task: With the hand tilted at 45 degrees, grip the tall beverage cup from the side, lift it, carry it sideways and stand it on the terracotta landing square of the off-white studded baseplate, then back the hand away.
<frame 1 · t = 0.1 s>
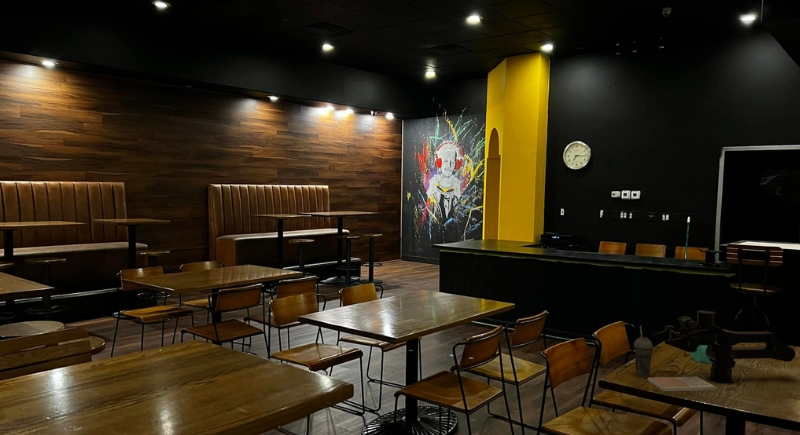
hand: (658, 338, 224), 17 cm above the table, tool horizontal, fingers open, 9 cm apart
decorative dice: (703, 360, 253), on the table
beverage cup: (642, 376, 231), on the table
baseplate: (681, 385, 220), on the table
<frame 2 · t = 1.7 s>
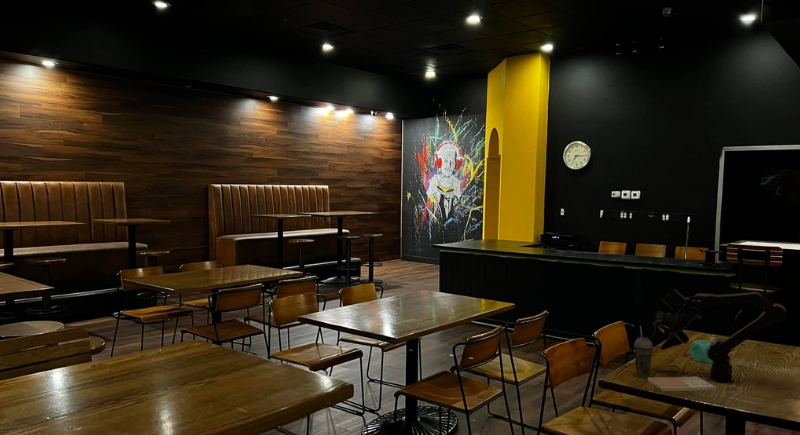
hand: (655, 346, 231), 12 cm above the table, tool tilted 45°, fingers open, 9 cm apart
nothing on the table moved.
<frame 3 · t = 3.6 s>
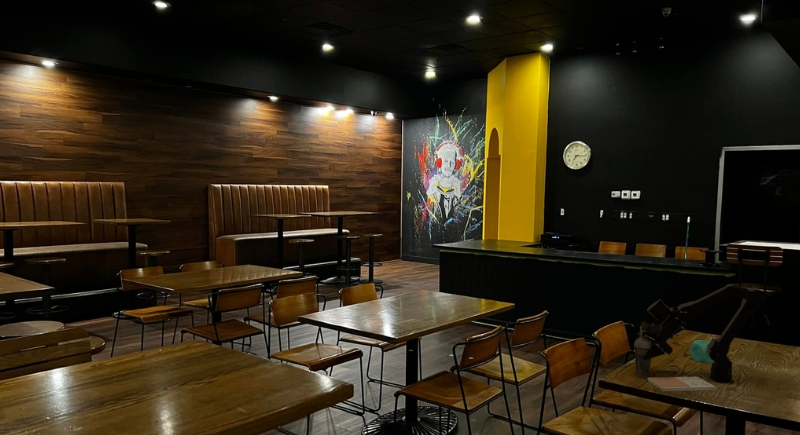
hand: (639, 356, 231), 8 cm above the table, tool tilted 45°, fingers closed on beverage cup, 7 cm apart
beverage cup: (642, 376, 231), on the table, touching gripper
everything else where it was.
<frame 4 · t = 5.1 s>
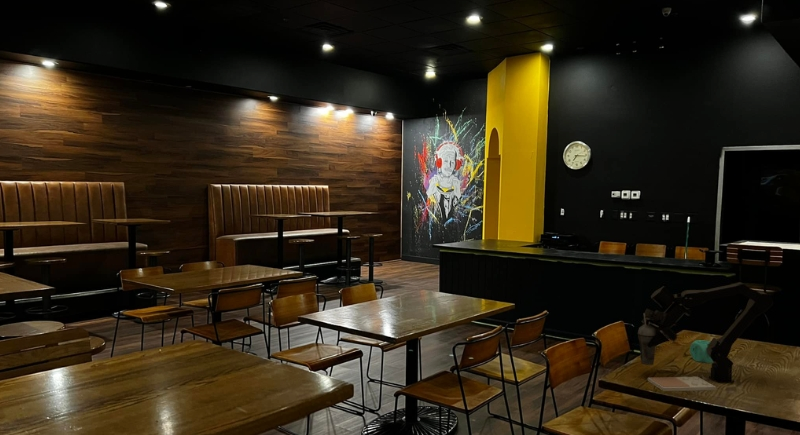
hand: (643, 344, 229), 13 cm above the table, tool tilted 45°, fingers closed on beverage cup, 7 cm apart
beverage cup: (647, 363, 229), point 5 cm above the table, touching gripper
everything else where it was.
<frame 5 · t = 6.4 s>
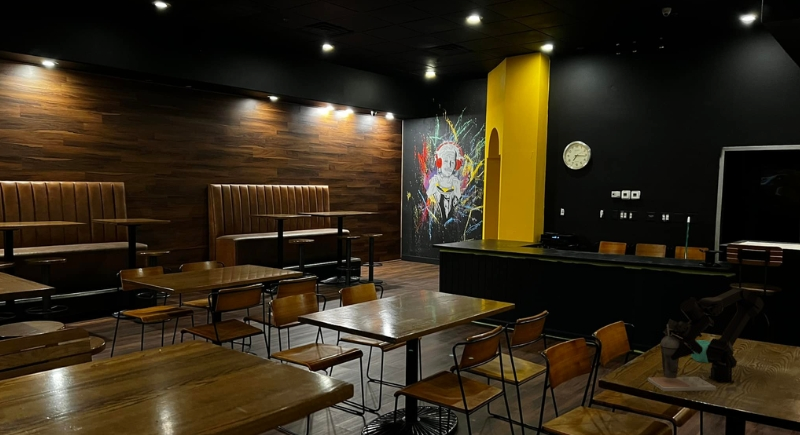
hand: (666, 356, 219), 11 cm above the table, tool tilted 45°, fingers closed on beverage cup, 7 cm apart
beverage cup: (669, 377, 220), point 3 cm above the table, touching gripper
everything else where it was.
when the fingers open (10 cm above the table, at t = 7.1 s): beverage cup stays where it is, resting on baseplate.
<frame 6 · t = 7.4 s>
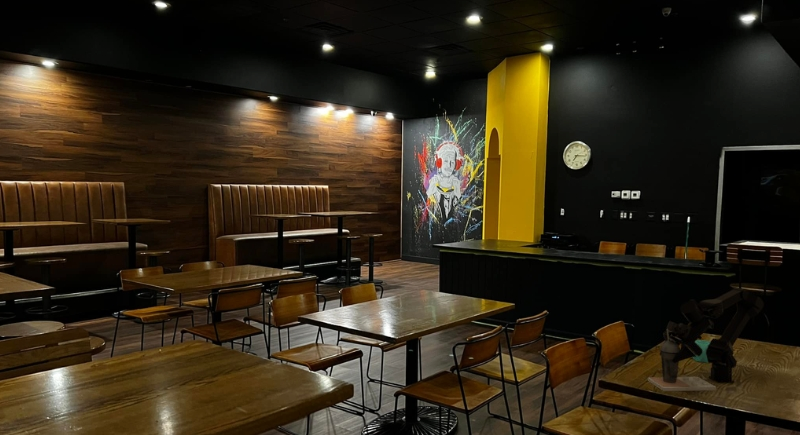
hand: (666, 358, 219), 10 cm above the table, tool tilted 45°, fingers open, 9 cm apart
beverage cup: (669, 381, 220), point 1 cm above the table, touching baseplate
everything else where it was.
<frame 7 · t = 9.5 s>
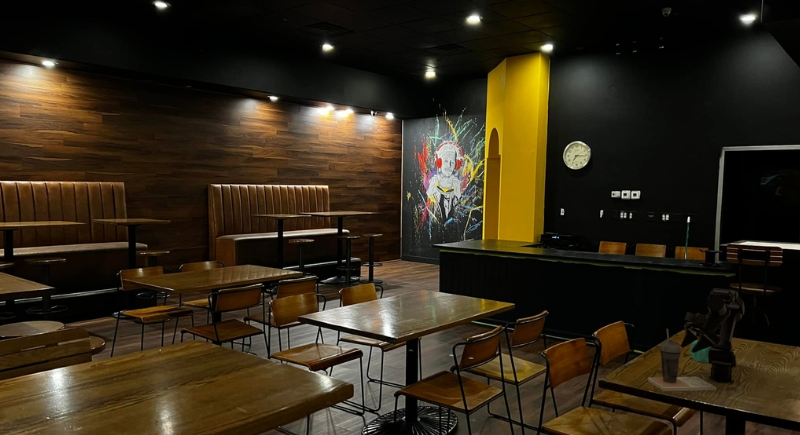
hand: (686, 349, 220), 14 cm above the table, tool tilted 40°, fingers open, 9 cm apart
nothing on the table moved.
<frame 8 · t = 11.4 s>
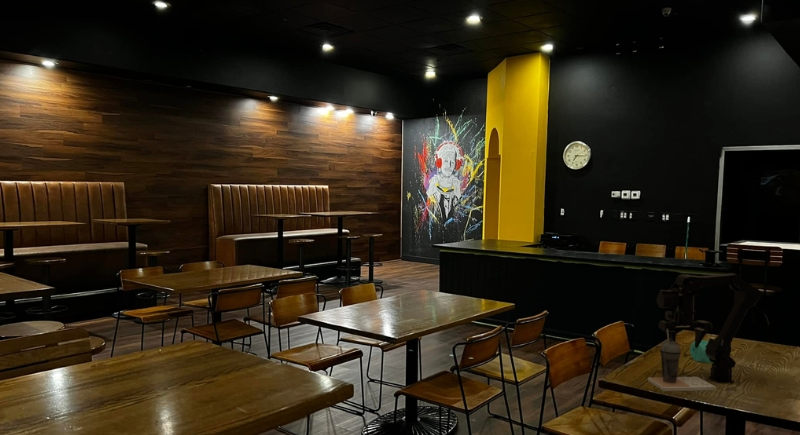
hand: (684, 347, 224), 13 cm above the table, tool pointing down, fingers open, 9 cm apart
nothing on the table moved.
at the end: beverage cup 0.4 cm from the target spot on the baseplate, point 1.3 cm above the baseplate's base; beverage cup tilted 0°; the gripper is holding nothing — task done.
